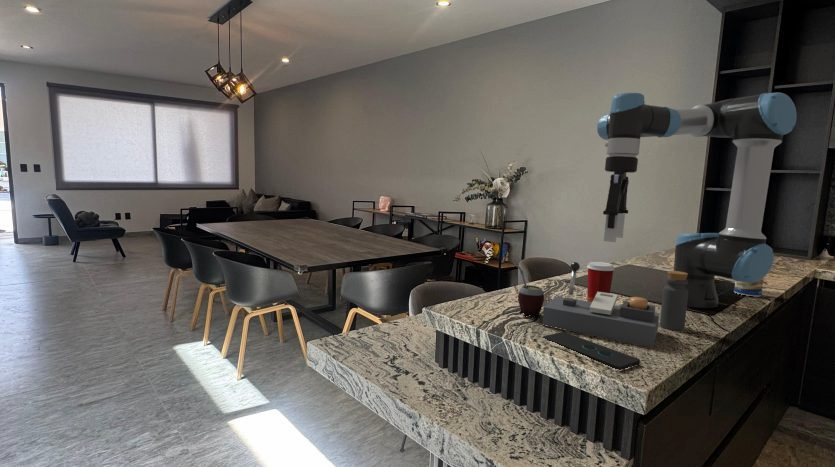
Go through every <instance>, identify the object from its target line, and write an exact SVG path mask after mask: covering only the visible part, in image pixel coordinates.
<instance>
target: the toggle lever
mask: <svg viewBox="0 0 835 467" xmlns="http://www.w3.org/2000/svg"><path fill="white" fill-rule="evenodd" d="M580 267H581V266H580V264H579V263H578V262H577V261H574V262H572V263H571V264H570V270H571V276H570V281H569V282H570V283H569V286H568V287H569V288H568V295H571V296H573V295H574V291H575V285H576V278H577V271H579V270H580Z"/></svg>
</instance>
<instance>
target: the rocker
mask: <svg viewBox="0 0 835 467" xmlns="http://www.w3.org/2000/svg"><path fill="white" fill-rule="evenodd" d="M617 300H618V294H615V293H611V292H610V293H603V292H597V294H596V296H595V298H594V300H593V302H592V304H591V306H590V312H596V313H601V314H607V315H611V313H612V311H613V308H614V306H616V303H617Z"/></svg>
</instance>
